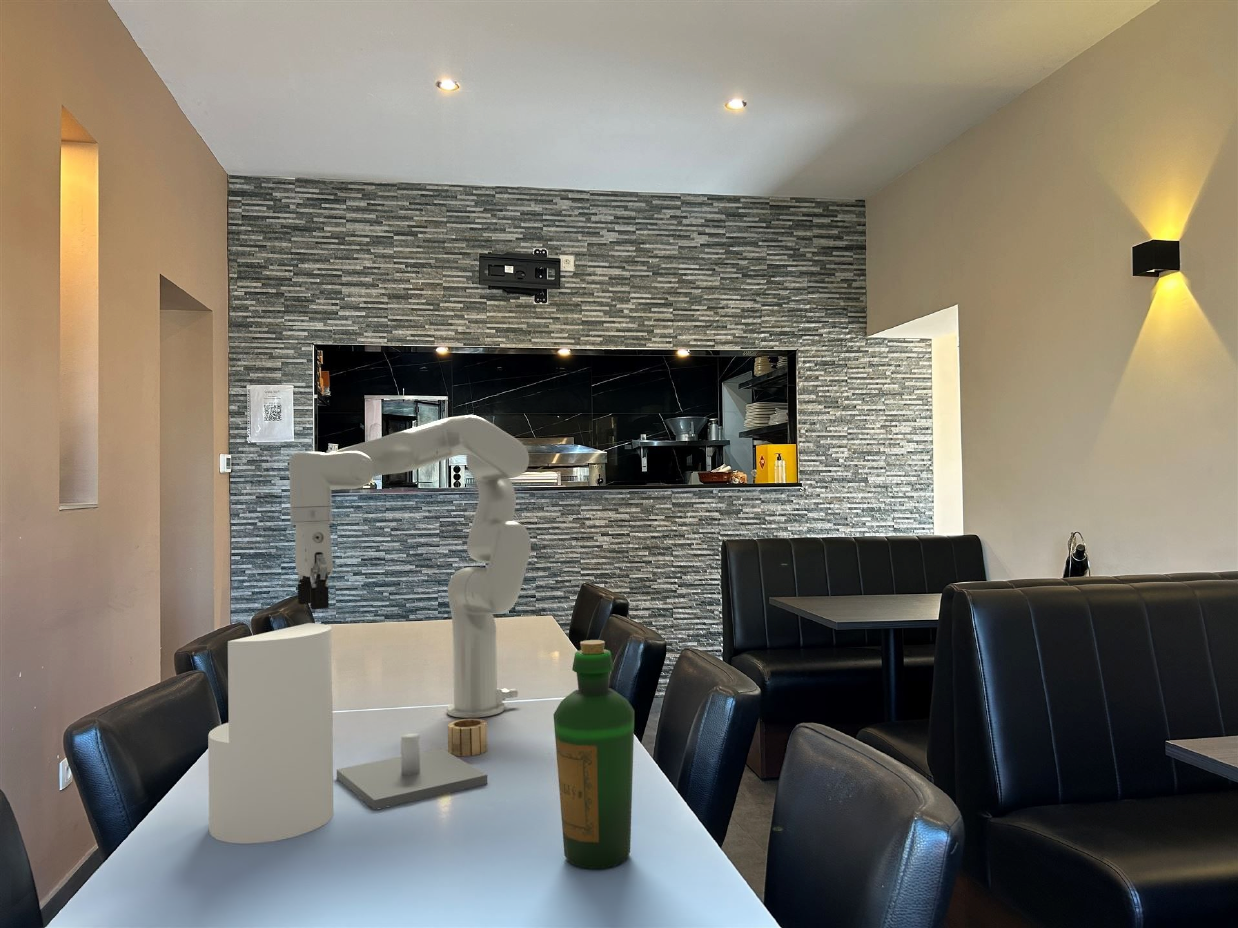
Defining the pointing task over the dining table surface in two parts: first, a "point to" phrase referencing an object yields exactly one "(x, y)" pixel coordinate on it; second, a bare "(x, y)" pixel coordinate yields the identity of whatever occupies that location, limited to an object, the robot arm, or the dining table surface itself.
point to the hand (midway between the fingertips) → (313, 606)
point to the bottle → (595, 763)
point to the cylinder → (274, 738)
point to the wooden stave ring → (467, 737)
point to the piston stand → (410, 776)
